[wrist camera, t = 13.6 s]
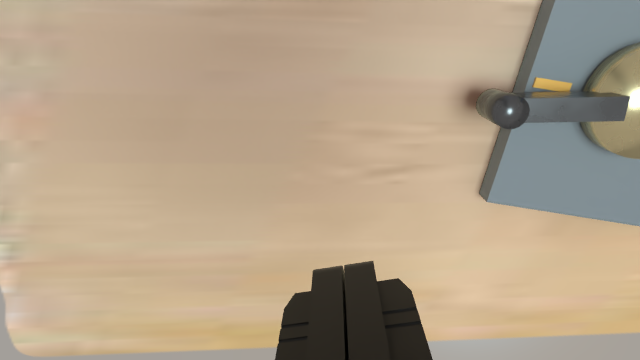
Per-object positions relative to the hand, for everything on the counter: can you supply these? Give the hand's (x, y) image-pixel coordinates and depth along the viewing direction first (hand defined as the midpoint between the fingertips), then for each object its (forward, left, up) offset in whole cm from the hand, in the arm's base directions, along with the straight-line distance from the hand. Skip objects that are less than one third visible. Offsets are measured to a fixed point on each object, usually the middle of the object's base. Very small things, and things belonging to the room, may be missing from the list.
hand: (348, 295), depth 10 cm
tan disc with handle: (-4, +20, -25) cm, 32 cm away
